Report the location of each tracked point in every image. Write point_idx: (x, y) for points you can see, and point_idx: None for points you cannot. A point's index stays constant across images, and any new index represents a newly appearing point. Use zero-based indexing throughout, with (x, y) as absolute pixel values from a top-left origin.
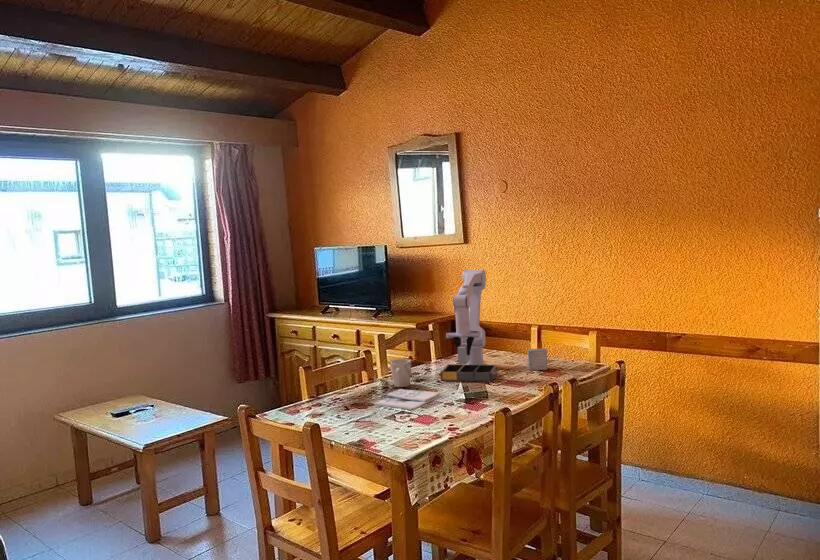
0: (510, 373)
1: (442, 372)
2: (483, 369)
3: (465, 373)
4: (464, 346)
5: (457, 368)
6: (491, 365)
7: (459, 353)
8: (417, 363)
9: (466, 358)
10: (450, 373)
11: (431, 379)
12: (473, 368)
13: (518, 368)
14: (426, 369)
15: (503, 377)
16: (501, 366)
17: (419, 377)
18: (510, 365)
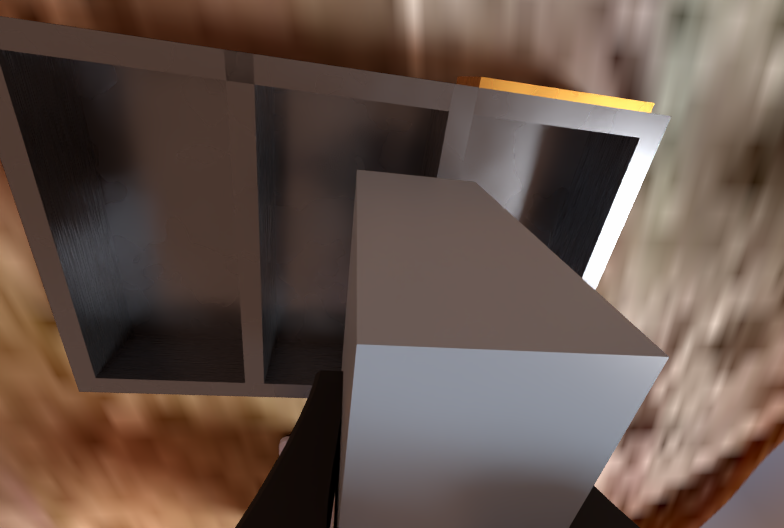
0: (13, 345)
1: (649, 103)
2: (227, 353)
3: (360, 70)
4: (403, 500)
5: None
6: (127, 378)
7: (514, 253)
8: (665, 516)
9: (351, 260)
10: (550, 87)
11: (674, 173)
12: (318, 362)
13: (18, 460)
14: (645, 424)
15: (13, 223)
16: (165, 492)
17: (750, 240)
18: (112, 511)
